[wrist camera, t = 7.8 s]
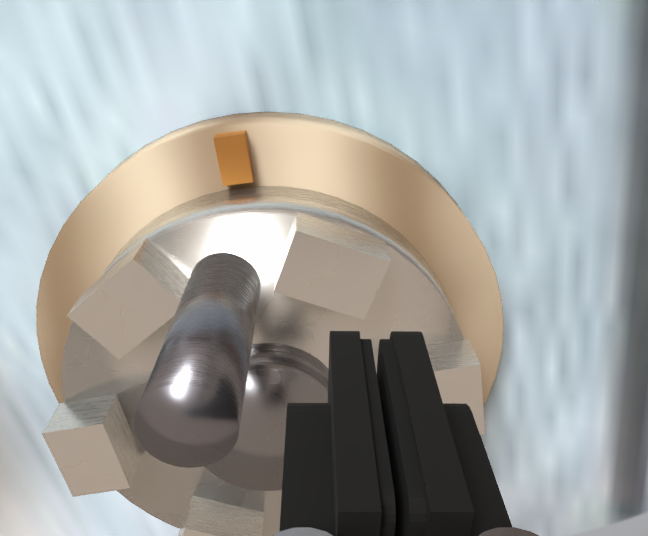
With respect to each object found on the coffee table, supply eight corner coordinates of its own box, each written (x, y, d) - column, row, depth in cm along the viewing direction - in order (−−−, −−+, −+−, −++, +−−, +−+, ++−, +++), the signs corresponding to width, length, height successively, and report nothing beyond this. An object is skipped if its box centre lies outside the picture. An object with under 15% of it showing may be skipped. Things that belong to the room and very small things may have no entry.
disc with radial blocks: (30, 223, 20) (-200, 423, 11) (437, 152, 20) (553, 301, 10) (151, 513, 26) (67, 798, 17) (465, 466, 26) (555, 737, 16)
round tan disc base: (449, 50, 20) (468, 59, 18) (514, 440, 28) (533, 482, 26) (-28, 185, 22) (-68, 209, 20) (156, 519, 30) (143, 565, 27)
